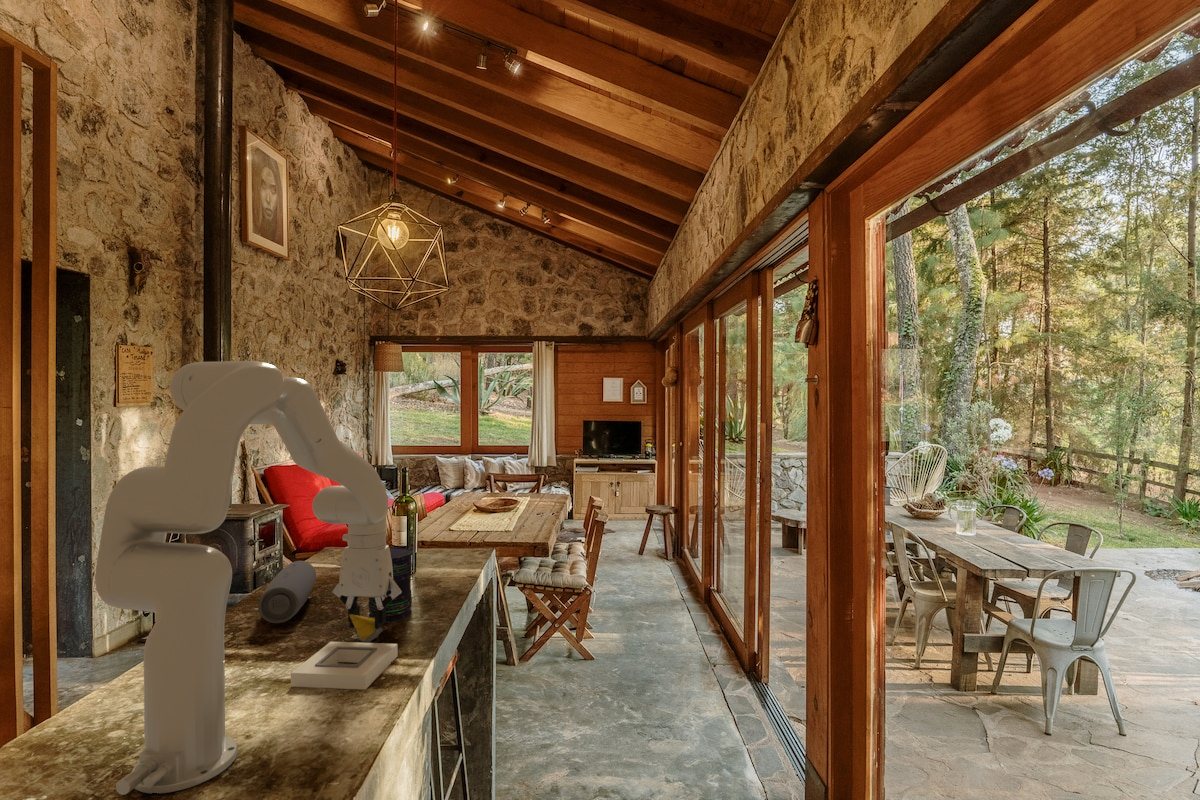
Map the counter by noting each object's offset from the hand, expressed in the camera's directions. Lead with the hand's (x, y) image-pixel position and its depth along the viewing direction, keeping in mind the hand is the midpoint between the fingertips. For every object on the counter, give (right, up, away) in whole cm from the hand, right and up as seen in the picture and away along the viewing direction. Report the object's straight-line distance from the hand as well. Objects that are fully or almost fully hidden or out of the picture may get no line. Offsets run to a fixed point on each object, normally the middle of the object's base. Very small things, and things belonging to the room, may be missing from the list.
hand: (367, 625), depth 131 cm
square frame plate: (+1, -4, -13) cm, 13 cm away
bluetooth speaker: (-26, -4, +19) cm, 32 cm away
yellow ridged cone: (0, -4, 0) cm, 4 cm away
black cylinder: (-1, -4, +16) cm, 17 cm away
